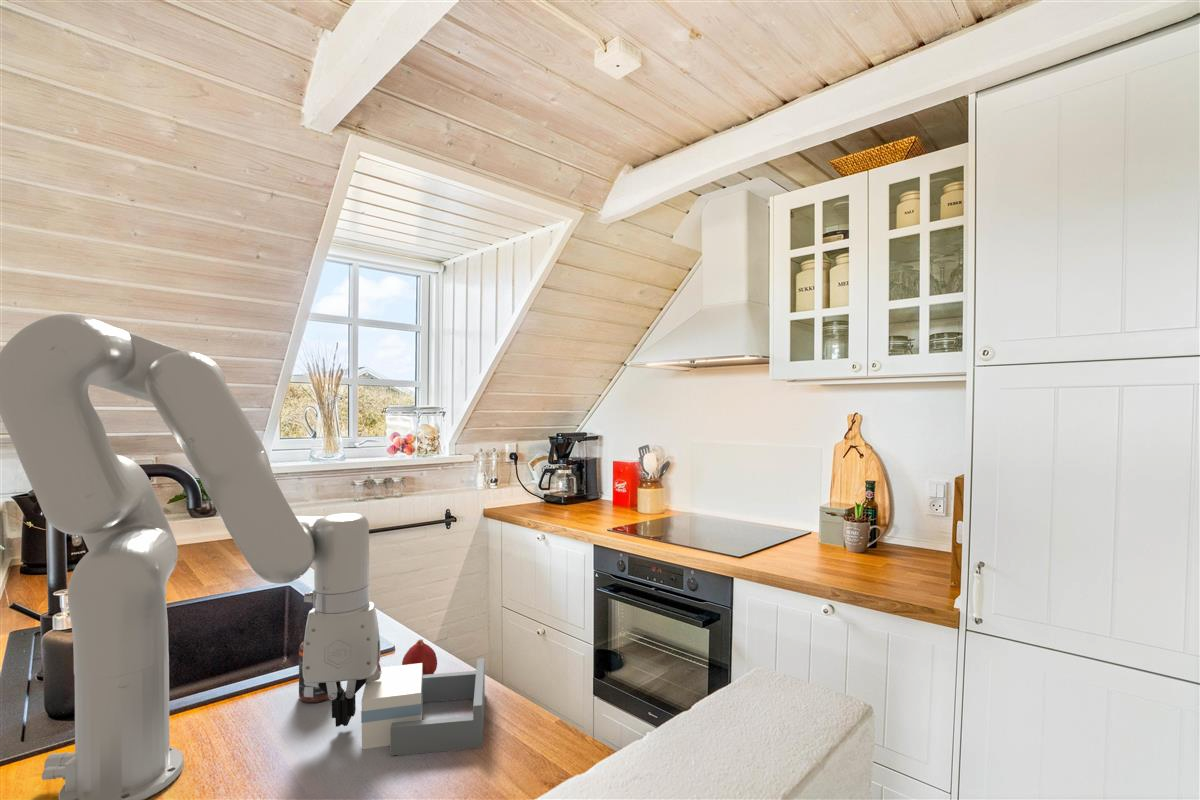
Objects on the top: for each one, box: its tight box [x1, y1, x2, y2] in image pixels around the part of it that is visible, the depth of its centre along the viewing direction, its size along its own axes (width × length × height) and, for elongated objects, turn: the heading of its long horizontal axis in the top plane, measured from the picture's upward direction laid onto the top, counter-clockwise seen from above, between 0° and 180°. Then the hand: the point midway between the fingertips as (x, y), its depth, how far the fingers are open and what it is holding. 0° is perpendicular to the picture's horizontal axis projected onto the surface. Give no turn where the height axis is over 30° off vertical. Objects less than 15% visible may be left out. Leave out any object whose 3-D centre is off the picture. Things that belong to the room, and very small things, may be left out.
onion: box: [401, 638, 438, 675], centre depth 104 cm, size 6×6×8 cm
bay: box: [390, 657, 486, 757], centre depth 92 cm, size 12×15×6 cm
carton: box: [360, 663, 423, 750], centre depth 91 cm, size 8×10×7 cm
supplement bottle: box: [298, 640, 330, 703], centre depth 100 cm, size 6×6×11 cm
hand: (343, 721), depth 90 cm, fingers closed
